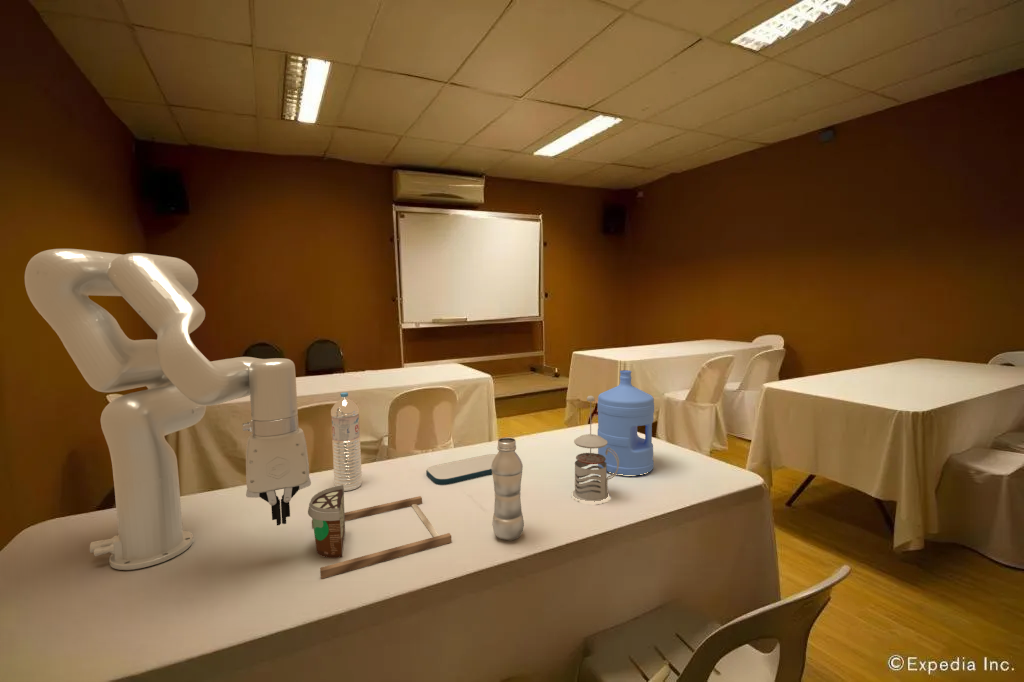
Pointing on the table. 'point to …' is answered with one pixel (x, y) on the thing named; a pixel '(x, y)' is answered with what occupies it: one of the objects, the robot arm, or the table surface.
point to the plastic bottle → (507, 491)
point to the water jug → (626, 427)
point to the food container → (328, 521)
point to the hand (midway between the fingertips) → (281, 521)
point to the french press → (593, 488)
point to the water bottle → (346, 443)
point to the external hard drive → (461, 470)
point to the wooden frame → (392, 552)
